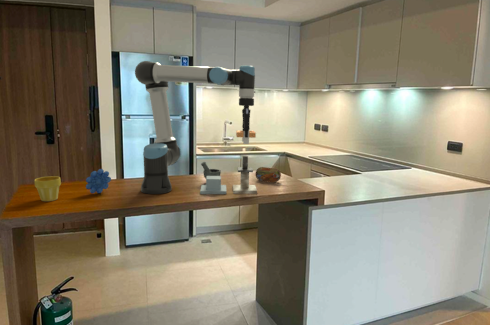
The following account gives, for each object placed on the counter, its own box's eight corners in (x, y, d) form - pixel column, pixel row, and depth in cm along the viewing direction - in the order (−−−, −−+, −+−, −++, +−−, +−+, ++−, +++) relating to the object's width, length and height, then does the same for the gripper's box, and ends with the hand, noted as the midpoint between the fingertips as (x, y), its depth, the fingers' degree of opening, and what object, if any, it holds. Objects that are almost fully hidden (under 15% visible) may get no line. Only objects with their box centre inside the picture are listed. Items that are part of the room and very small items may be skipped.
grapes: (110, 189, 180) (109, 166, 178) (112, 193, 175) (111, 169, 173) (85, 192, 175) (83, 168, 173) (86, 195, 169) (85, 171, 167)
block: (200, 194, 176) (200, 180, 175) (201, 187, 189) (201, 174, 188) (226, 194, 177) (226, 180, 176) (226, 187, 190) (226, 174, 189)
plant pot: (33, 199, 162) (31, 178, 160) (57, 195, 169) (56, 175, 167) (39, 204, 154) (38, 182, 153) (65, 199, 162) (63, 178, 160)
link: (236, 137, 175) (237, 132, 175) (236, 135, 185) (236, 130, 184) (255, 137, 176) (255, 132, 176) (253, 135, 185) (254, 130, 185)
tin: (255, 180, 209) (255, 166, 207) (257, 179, 211) (257, 165, 210) (279, 183, 202) (280, 169, 201) (281, 182, 205) (281, 168, 204)
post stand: (233, 193, 179) (233, 158, 176) (232, 187, 191) (233, 154, 188) (257, 193, 180) (258, 158, 177) (254, 187, 192) (255, 154, 188)
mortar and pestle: (218, 180, 207) (218, 159, 205) (222, 184, 198) (222, 162, 196) (199, 181, 203) (199, 160, 201) (202, 185, 195) (202, 163, 192)
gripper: (256, 97, 166) (254, 145, 170) (252, 97, 188) (251, 140, 192) (240, 97, 166) (239, 145, 170) (238, 97, 187) (237, 140, 191)
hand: (245, 142), depth 181 cm, fingers closed on link, 9 cm apart
